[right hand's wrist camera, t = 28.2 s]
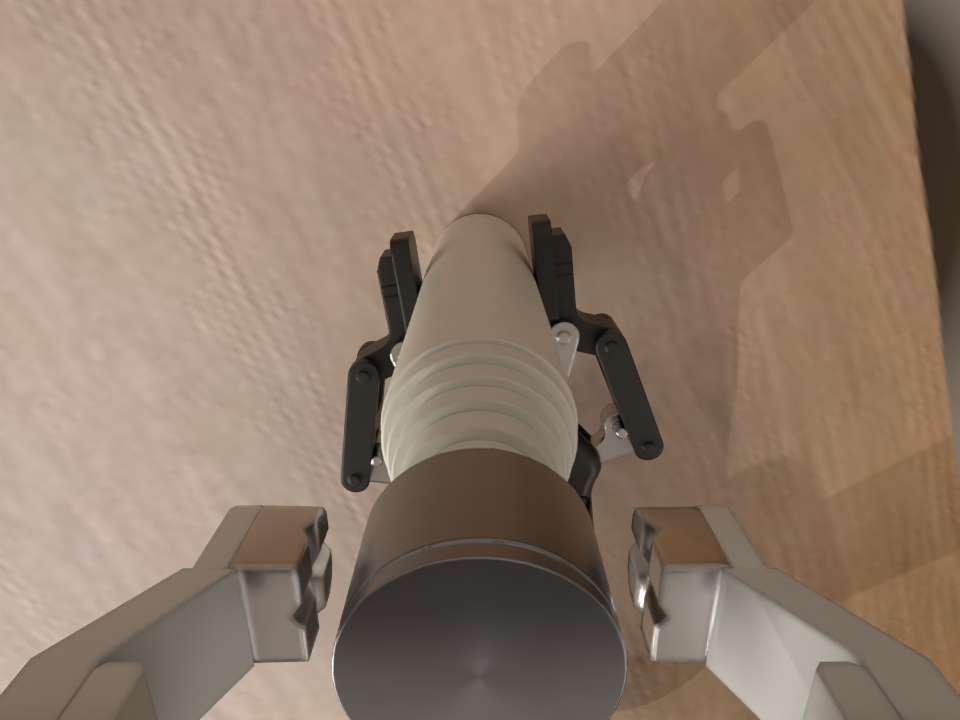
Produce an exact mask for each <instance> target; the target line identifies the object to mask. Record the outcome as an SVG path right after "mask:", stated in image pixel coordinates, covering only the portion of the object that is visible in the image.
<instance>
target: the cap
mask: <svg viewBox="0 0 960 720" xmlns="http://www.w3.org/2000/svg"><path fill="white" fill-rule="evenodd" d="M627 665H628V663H627V654H626V647H625V644H624V640H623V636H622V633H621V629H620V625H619V622H618V618H617V614H616V611H615V607H614V603H613V599H612V596H611V592H610V588H609V585H608V581H607V577H606V574H605V570H604V566H603V563H602V559H601V555H600V552H599V548H598V544H597V540H596V537H595V533H594V529H593V526H592V522H591V519H590V515H589V513H588V511H587V509H586V507H585V504H584V502H583V501H582V499H581V498H580V496H579V495H578V493H577V492H576V491H575V490H574V489H573V487H572V486H571V485H570V484H569V483H568V482H567V481H566V480H565V479H564V478H562V477H561V476H560V475H559V474H558V473H556V472H555V471H553V470H552V469H551V468H550V467H548V466H547V465H544V464H542V463H540V462H538V461H536V460H534V459H532V458H530V457H527V456H524V455H521V454H518V453H515V452H511V451H506V450H501V449H498V448H496V449H495V448H466V449H459V450H452V451H448V452H445V453H439V454H436V455H434V456H432V457H430V458H427V459H425V460H422V461H421V462H419V463H417V464H415V465H413V466H412V467H410V468H408V469H407V470H406V471H404V472H403V473H402V474H400V475H399V476H397V477H396V478H395V479H394V480H393V481H392V482H391V483H390V484H389V485H388V486H387V487H386V488H385V490H384V491H383V492H382V493H381V495H380V496H379V497H378V499H377V501H376V503H375V504H374V506H373V508H372V510H371V513H370V516H369V518H368V521H367V525H366V528H365V532H364V536H363V539H362V543H361V547H360V551H359V554H358V558H357V562H356V565H355V569H354V573H353V576H352V580H351V584H350V587H349V591H348V595H347V598H346V602H345V606H344V609H343V613H342V617H341V621H340V625H339V628H338V632H337V635H336V639H335V643H334V648H333V653H332V677H333V683H334V688H335V691H336V694H337V697H338V700H339V702H340V704H341V706H342V708H343V709H344V711H345V713H346V715H347V716H348V717H349V719H350V720H609V719H610V717H611V716H612V714H613V712H614V711H615V709H616V708H617V706H618V703H619V701H620V699H621V697H622V694H623V691H624V687H625V683H626V678H627Z"/></svg>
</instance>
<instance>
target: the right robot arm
mask: <svg viewBox="0 0 960 720" xmlns="http://www.w3.org/2000/svg"><path fill="white" fill-rule="evenodd" d="M631 528H632V531H633V534H634V537H635V540H636V543H635V544H634V545H633V546H632V547H631V548H630V549H629V557H628V583H629V588H630V594H631V598H632V601H633V604H634V607H635V608H636V609H637V610H639V611H640V612H641V613H642V621H641V630H642V633H643V637H644V640H645V643H646V646H647V649H648V652H649V655H650V658H651V661H661V662H697V663H706V666H707V667H708V668H709V669H710V670H711V671H712V672H713V673H714V674H715V675H716V676H717V677H718V678H719V679H720V680H721V681H722V682H723V683H724V684H725V685H726V686H727V687H728V688H729V689H730V690H731V691H732V692H733V693H734V694H735V695H736V696H737V697H738V698H739V699H740V700H741V701H742V702H743V703H744V704H745V705H746V706H747V707H749V708H750V709H751V710H752V711H753V712H754V713H755V714H756V715H757V716H758V717H759V718H760V719H761V720H960V695H959V694H958V693H957V691H956V690H955V689H954V688H953V686H952V685H951V684H950V683H949V682H948V680H947V679H946V678H945V677H944V675H943V674H942V673H941V672H940V671H939V669H938V668H937V667H936V666H935V664H934V663H933V662H932V661H931V660H930V659H929V658H927V657H925V656H923V655H922V654H920V653H918V652H917V651H915V650H913V649H912V648H910V647H908V646H907V645H905V644H903V643H902V642H900V641H898V640H897V639H895V638H893V637H891V636H890V635H888V634H886V633H885V632H883V631H881V630H880V629H878V628H876V627H875V626H873V625H871V624H870V623H868V622H866V621H865V620H863V619H861V618H859V617H858V616H856V615H854V614H853V613H851V612H849V611H848V610H846V609H844V608H843V607H841V606H839V605H838V604H836V603H834V602H833V601H831V600H829V599H827V598H826V597H824V596H822V595H821V594H819V593H817V592H816V591H814V590H812V589H811V588H809V587H807V586H806V585H804V584H802V583H801V582H799V581H797V580H795V579H794V578H792V577H790V576H789V575H787V574H785V573H784V572H782V571H780V570H779V569H776V568H767V566H766V565H765V563H764V562H763V560H762V559H761V557H760V556H759V554H758V552H757V551H756V549H755V548H754V546H753V545H752V543H751V541H750V540H749V538H748V537H747V535H746V534H745V532H744V531H743V529H742V527H741V526H740V524H739V523H738V521H737V520H736V518H735V516H734V515H733V513H732V512H731V510H730V509H729V508H728V507H726V506H725V505H712V506H694V507H639V508H635V511H634V514H633V519H632V527H631ZM327 531H328V521H327V514H326V511H325V509H324V508H323V507H308V506H234V507H232V508H231V509H230V510H229V511H228V513H227V514H226V516H225V517H224V519H223V520H222V522H221V524H220V525H219V527H218V528H217V530H216V532H215V533H214V535H213V536H212V538H211V539H210V541H209V543H208V544H207V546H206V547H205V549H204V550H203V552H202V554H201V555H200V557H199V558H198V560H197V562H196V563H195V565H194V566H193V568H185V569H181V570H180V571H178V572H176V573H175V574H173V575H171V576H169V577H168V578H166V579H164V580H163V581H161V582H159V583H158V584H156V585H154V586H153V587H151V588H149V589H148V590H146V591H144V592H142V593H141V594H139V595H137V596H136V597H134V598H132V599H131V600H129V601H127V602H126V603H124V604H122V605H120V606H119V607H117V608H115V609H114V610H112V611H110V612H109V613H107V614H105V615H104V616H102V617H100V618H98V619H97V620H95V621H93V622H92V623H90V624H88V625H87V626H85V627H83V628H82V629H80V630H78V631H77V632H75V633H73V634H71V635H70V636H68V637H66V638H65V639H63V640H61V641H60V642H58V643H56V644H55V645H53V646H51V647H49V648H48V649H46V650H44V651H43V652H41V653H39V654H38V655H36V656H34V657H33V658H31V659H30V660H29V661H28V662H27V664H26V665H25V666H24V667H23V668H22V670H21V671H20V672H19V673H18V674H17V676H16V677H15V678H14V679H13V681H12V682H11V683H10V684H9V685H8V687H7V688H6V689H5V690H4V691H3V693H2V694H1V695H0V720H199V719H200V718H202V717H203V716H204V715H205V714H206V713H207V712H208V711H209V710H210V709H211V708H212V707H213V706H214V705H215V704H216V703H217V702H218V701H219V700H220V699H221V698H222V697H223V696H224V695H225V694H226V693H227V692H228V691H229V690H230V689H231V688H232V687H233V686H234V685H235V684H236V683H237V682H238V681H239V680H240V679H241V678H242V677H243V676H244V675H245V674H246V673H247V672H248V671H249V670H250V669H251V668H252V667H253V666H254V663H263V662H297V661H309V658H310V655H311V652H312V649H313V646H314V643H315V640H316V636H317V633H318V630H319V622H318V613H319V612H320V611H321V610H322V609H324V608H325V607H326V604H327V601H328V597H329V594H330V587H331V580H332V556H331V549H330V548H329V547H328V546H327V545H326V544H325V543H324V539H325V537H326V534H327Z"/></svg>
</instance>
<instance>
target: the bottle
mask: <svg viewBox="0 0 960 720" xmlns="http://www.w3.org/2000/svg"><path fill="white" fill-rule="evenodd" d="M577 444H578V415H577V409H576V405H575V400H574V397H573V394H572V391H571V388H570V385H569V382H568V379H567V376H566V373H565V370H564V367H563V364H562V361H561V357H560V354H559V351H558V348H557V345H556V342H555V339H554V336H553V333H552V330H551V327H550V324H549V321H548V318H547V315H546V311H545V308H544V305H543V302H542V299H541V296H540V293H539V290H538V287H537V284H536V281H535V278H534V275H533V272H532V269H531V266H530V262H529V259H528V256H527V253H526V250H525V247H524V244H523V242H522V240H521V238H520V236H519V235H518V233H517V232H516V231H515V230H514V228H513V227H512V226H510V225H509V224H508V223H507V222H505V221H503V220H502V219H500V218H497V217H495V216H491V215H486V214H472V215H467V216H464V217H461V218H459V219H457V220H455V221H454V222H452V223H451V224H450V225H448V226H447V227H446V228H445V229H444V230H443V232H442V233H441V234H440V236H439V238H438V239H437V241H436V244H435V246H434V249H433V253H432V256H431V259H430V262H429V265H428V268H427V271H426V274H425V277H424V280H423V283H422V286H421V289H420V292H419V296H418V299H417V302H416V305H415V308H414V311H413V314H412V317H411V320H410V323H409V326H408V329H407V332H406V335H405V338H404V342H403V345H402V348H401V351H400V354H399V357H398V360H397V363H396V366H395V369H394V372H393V375H392V378H391V381H390V385H389V388H388V391H387V394H386V397H385V400H384V404H383V408H382V413H381V446H382V453H383V457H384V461H385V464H386V466H387V469H388V474H389V477H390V480H391V482H392V481H393V480H394V479H395V478H396V477H397V476H399V475H400V474H402V473H403V472H404V471H406V470H407V469H408V468H410V467H412V466H413V465H415V464H417V463H419V462H421V461H422V460H425V459H427V458H430V457H432V456H434V455H436V454H439V453H445V452H448V451H452V450H459V449H466V448H495V449H496V448H498V449H501V450H506V451H511V452H515V453H518V454H521V455H524V456H527V457H530V458H532V459H534V460H536V461H538V462H540V463H542V464H544V465H547V466H548V467H550V468H551V469H552V470H553V471H555V472H556V473H558V474H559V475H560V476H561V477H562V478H564V479H565V480H566V481H567V482H568V479H569V477H570V473H571V469H572V466H573V463H574V461H575V457H576V452H577Z"/></svg>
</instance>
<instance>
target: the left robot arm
mask: <svg viewBox="0 0 960 720" xmlns="http://www.w3.org/2000/svg"><path fill="white" fill-rule="evenodd" d="M528 224H529V234H530V245H531V255H532V265H533V275H534V278H535V281H536V284H537V287H538V290H539V293H540V296H541V299H542V302H543V305H544V308H545V311H546V315H547V318H548V321H549V324H550V327H551V330H552V333H553V336H554V339H555V342H556V345H557V348H558V351H559V354H560V357H561V361H562V364H563V367H564V370H565V373H566V376H567V379H568V382H569V377H570V373H571V369H572V365H573V361H574V358H575V354H576V351H579V352H583V353H588V354H593V355H596V358H597V360H598V363H599V365H600V368H601V371H602V373H603V376H604V378H605V381H606V384H607V386H608V389H609V391H610V394H611V397H612V399H613V402H614V403H610V404H608V405H607V406H606V407H605V408H604V409H603V410H602V412H601V415H600V418H601V427H600V429H599V431H598V432H597V433H596V434H595V435H593V436H591V435H590V434H589V433H588V432H587V431H586V430H585V429H584V428H583V427H582V426H581V425H580V424H579V423H578V444H577V452H576V457H575V461H574V463H573V466H572V469H571V473H570V477H569V479H568V483H569V484H570V485H571V486H572V487H573V489H574V490H575V491H576V492H577V493H578V495H579V496H580V498H581V499H582V501H583V502H584V504H585V507H586V509H587V511H588V513H589V515H590V519H591V522H592V526H593V513H592V500H591V491H592V487H593V484H594V482H595V480H596V478H597V477H598V475H599V472H600V469H601V464H602V463H604V462H607V461H610V460H613V459H616V458H618V457H621V456H624V455H627V454H630V453H632V452H635V454H636V455H637V456H638V457H639V458H640V459H643V460H652V459H655V458H657V457H658V456H659V455H660V454H661V453H662V451H663V447H664V446H663V441H662V438H661V436H660V433H659V430H658V427H657V425H656V422H655V419H654V416H653V413H652V411H651V408H650V405H649V402H648V400H647V397H646V394H645V391H644V389H643V386H642V383H641V380H640V377H639V375H638V372H637V369H636V366H635V364H634V361H633V358H632V355H631V352H630V350H629V347H628V344H627V341H626V339H625V338H624V336H623V335H622V333H621V331H620V330H619V328H618V327H617V325H616V324H615V322H614V320H613V319H612V318H611V317H610V316H609V315H607V314H596V315H593V314H588V313H584V312H581V311H579V310H578V309H577V308H576V303H575V289H574V276H573V264H572V249H571V245H570V243H569V241H568V239H567V237H566V235H565V234H564V232H563V231H562V229H561V228H552V229H551V223H550V219H549V218H548V216H547V214H540V215H532V216H528ZM377 273H378V278H379V283H380V286H381V293H382V297H383V303H384V308H385V313H386V318H387V323H388V328H389V334H388V335H387V336H386V337H384V338H382V339H380V340H378V341H369V342H366V343H364V344H363V345H362V346H361V348H360V350H359V352H358V355H357V359H356V361H355V362H354V363H353V364H352V366H351V368H350V370H349V373H348V384H347V398H346V412H345V426H344V440H343V454H342V468H341V483H342V485H343V486H344V487H345V488H346V489H347V490H349V491H352V492H361V491H363V490H365V489H366V488H367V487H368V485H369V482H370V481H371V482H379V483H387V484H390V483H391V480H390V477H389V474H388V469H387V466H386V464H385V461H384V457H383V453H382V446H381V430H380V427H381V413H382V407H383V396H384V386H385V379H386V378H389V377H391V376H392V375H393V372H394V369H395V366H396V363H397V360H398V357H399V354H400V351H401V348H402V345H403V342H404V338H405V335H406V332H407V329H408V326H409V323H410V320H411V317H412V314H413V311H414V308H415V305H416V302H417V299H418V296H419V292H420V289H421V286H422V283H423V281H422V276H421V270H420V264H419V258H418V252H417V246H416V240H415V236H414V232H413V231H407V232H400V233H395V234H394V235H393V237H392V238H391V240H390V249H388V250H385V251H384V253H383V254H382V256H381V257H380V260H379V266H378V271H377ZM593 529H594V527H593Z"/></svg>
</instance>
